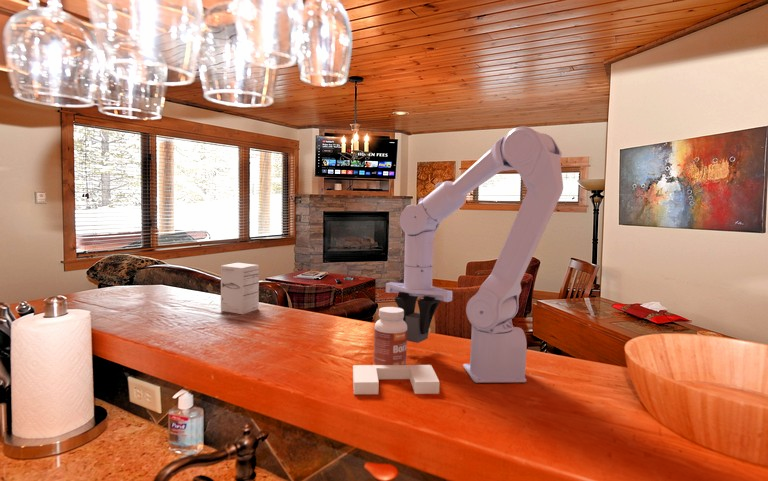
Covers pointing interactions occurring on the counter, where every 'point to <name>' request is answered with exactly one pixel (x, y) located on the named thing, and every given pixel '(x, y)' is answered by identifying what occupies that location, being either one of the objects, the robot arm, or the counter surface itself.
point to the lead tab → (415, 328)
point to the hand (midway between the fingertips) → (416, 331)
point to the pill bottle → (390, 337)
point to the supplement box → (239, 288)
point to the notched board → (394, 377)
